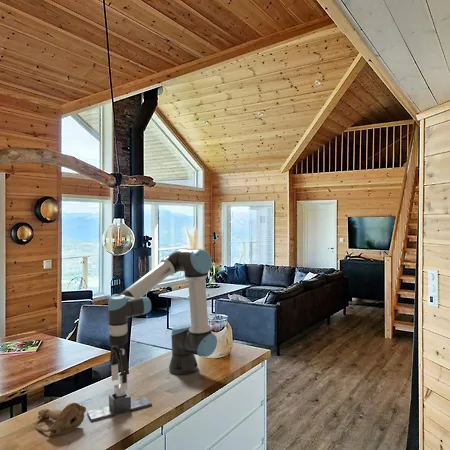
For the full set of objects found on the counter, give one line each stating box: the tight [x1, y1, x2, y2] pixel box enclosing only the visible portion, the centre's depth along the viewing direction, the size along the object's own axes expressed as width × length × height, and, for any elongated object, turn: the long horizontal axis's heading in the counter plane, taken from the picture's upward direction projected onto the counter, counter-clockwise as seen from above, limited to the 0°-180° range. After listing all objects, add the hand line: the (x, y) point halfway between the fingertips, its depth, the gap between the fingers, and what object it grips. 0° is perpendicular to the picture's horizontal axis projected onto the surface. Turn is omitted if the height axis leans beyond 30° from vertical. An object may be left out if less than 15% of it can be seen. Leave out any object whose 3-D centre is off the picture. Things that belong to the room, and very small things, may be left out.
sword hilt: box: [33, 402, 87, 436], centre depth 159 cm, size 10×24×15 cm
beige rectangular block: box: [113, 384, 125, 399], centre depth 171 cm, size 4×4×10 cm
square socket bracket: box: [86, 390, 153, 423], centre depth 170 cm, size 25×8×6 cm, turn 121°
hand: (119, 384), depth 170 cm, fingers open, 12 cm apart
